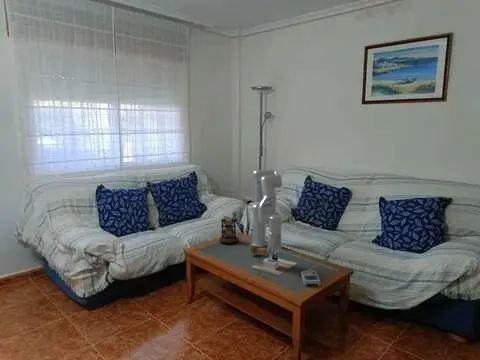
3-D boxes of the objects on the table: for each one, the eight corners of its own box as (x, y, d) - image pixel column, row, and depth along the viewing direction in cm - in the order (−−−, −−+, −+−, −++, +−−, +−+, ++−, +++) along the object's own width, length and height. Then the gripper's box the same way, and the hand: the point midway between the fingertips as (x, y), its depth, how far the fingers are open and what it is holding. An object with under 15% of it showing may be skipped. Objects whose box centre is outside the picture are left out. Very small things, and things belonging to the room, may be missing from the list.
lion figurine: (248, 258, 232) (248, 246, 230) (248, 255, 237) (248, 243, 235) (270, 259, 230) (270, 246, 229) (270, 256, 236) (270, 243, 234)
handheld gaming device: (315, 275, 205) (315, 269, 205) (320, 287, 191) (320, 280, 190) (300, 275, 206) (300, 269, 205) (304, 287, 191) (304, 280, 190)
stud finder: (267, 264, 218) (267, 258, 217) (278, 267, 213) (278, 260, 213) (263, 267, 214) (263, 260, 213) (274, 270, 209) (274, 263, 209)
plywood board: (270, 258, 232) (270, 256, 232) (296, 265, 220) (296, 263, 220) (251, 268, 215) (251, 266, 215) (279, 277, 203) (279, 274, 203)
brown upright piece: (239, 239, 272) (239, 214, 269) (237, 245, 258) (237, 219, 255) (220, 238, 274) (220, 214, 271) (217, 244, 259) (217, 219, 256)
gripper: (276, 231, 222) (275, 258, 225) (263, 237, 211) (263, 265, 214) (286, 233, 218) (285, 260, 221) (273, 239, 206) (273, 268, 209)
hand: (274, 262), depth 217 cm, fingers closed
